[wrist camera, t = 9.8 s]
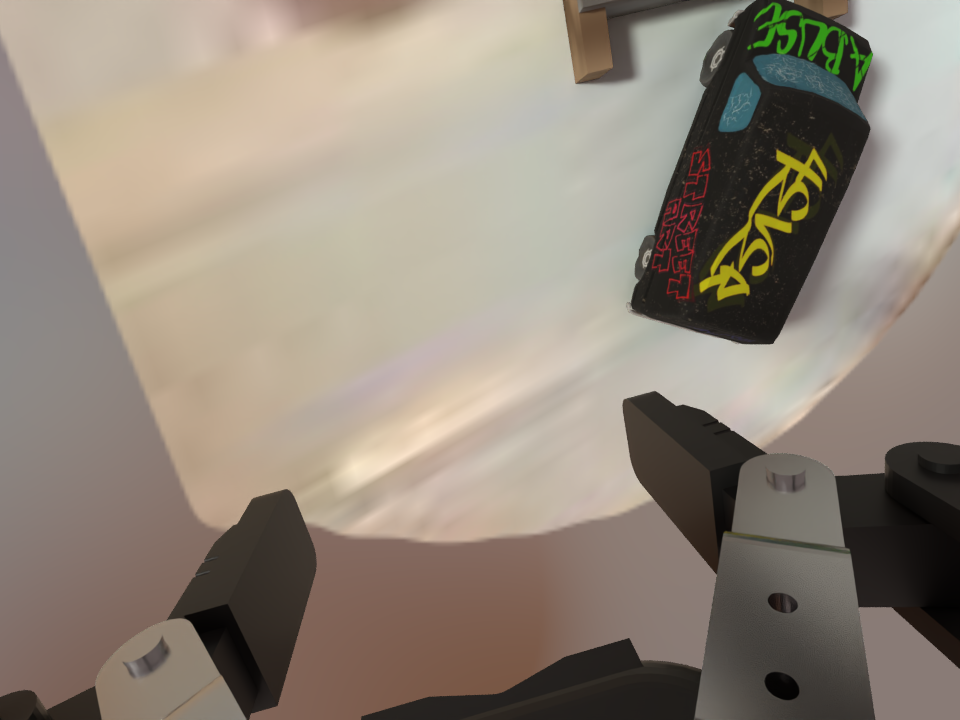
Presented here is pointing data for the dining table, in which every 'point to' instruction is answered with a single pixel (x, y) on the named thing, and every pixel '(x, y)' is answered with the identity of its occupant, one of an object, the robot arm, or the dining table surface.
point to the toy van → (756, 175)
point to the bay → (595, 3)
